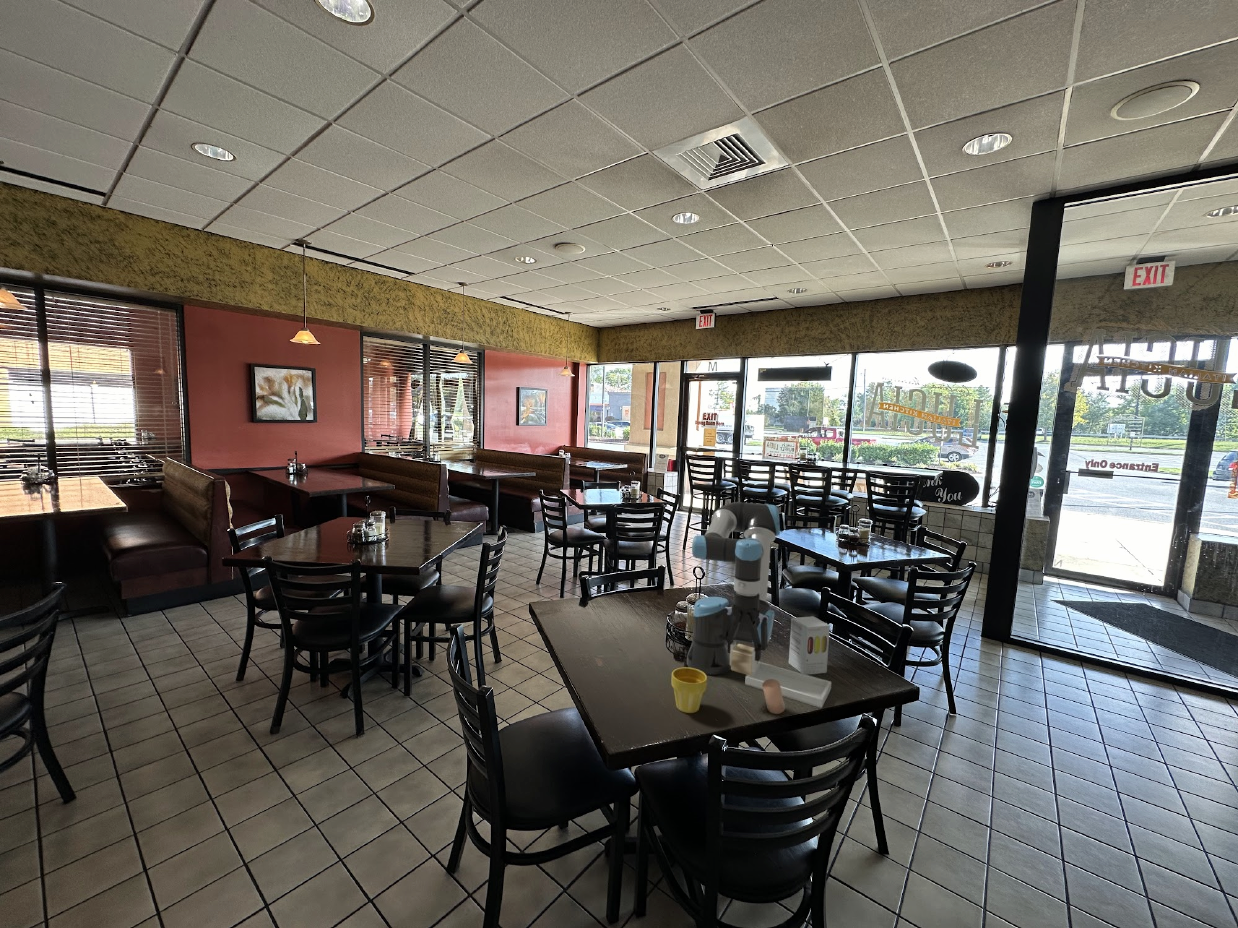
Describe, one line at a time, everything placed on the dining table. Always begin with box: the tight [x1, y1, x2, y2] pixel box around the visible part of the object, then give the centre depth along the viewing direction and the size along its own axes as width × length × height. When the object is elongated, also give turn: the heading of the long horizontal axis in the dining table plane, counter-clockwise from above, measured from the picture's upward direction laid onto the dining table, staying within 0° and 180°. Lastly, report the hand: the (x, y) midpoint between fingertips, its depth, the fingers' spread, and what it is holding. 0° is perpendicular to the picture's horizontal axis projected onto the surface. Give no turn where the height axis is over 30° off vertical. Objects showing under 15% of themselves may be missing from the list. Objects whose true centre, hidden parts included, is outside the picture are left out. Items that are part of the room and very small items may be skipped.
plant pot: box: [670, 666, 708, 714], centre depth 149 cm, size 10×10×10 cm
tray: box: [744, 661, 832, 709], centre depth 163 cm, size 24×14×3 cm, turn 57°
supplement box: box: [788, 615, 831, 675], centre depth 176 cm, size 10×9×17 cm
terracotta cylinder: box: [762, 679, 786, 715], centre depth 148 cm, size 5×5×8 cm
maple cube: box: [730, 643, 755, 676], centre depth 153 cm, size 6×6×6 cm
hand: (743, 666), depth 152 cm, fingers closed on maple cube, 6 cm apart
